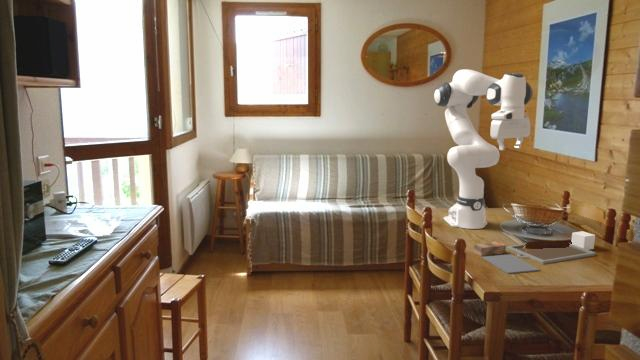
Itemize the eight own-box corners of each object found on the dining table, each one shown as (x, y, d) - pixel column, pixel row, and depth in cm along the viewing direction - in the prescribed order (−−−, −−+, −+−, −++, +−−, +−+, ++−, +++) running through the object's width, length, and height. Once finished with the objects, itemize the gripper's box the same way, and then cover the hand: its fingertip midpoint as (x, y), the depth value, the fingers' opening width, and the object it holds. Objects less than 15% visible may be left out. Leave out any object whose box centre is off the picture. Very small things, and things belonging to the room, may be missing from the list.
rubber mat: (481, 257, 188) (481, 256, 188) (511, 255, 191) (511, 254, 191) (507, 273, 172) (507, 272, 172) (539, 270, 175) (539, 269, 175)
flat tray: (596, 252, 191) (537, 262, 180) (595, 256, 191) (537, 266, 181) (556, 239, 209) (501, 247, 198) (556, 242, 209) (501, 250, 198)
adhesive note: (581, 244, 204) (582, 231, 203) (593, 249, 199) (595, 234, 198) (570, 246, 202) (572, 232, 201) (583, 250, 197) (584, 236, 196)
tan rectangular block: (481, 256, 191) (481, 247, 190) (473, 252, 195) (474, 243, 195) (505, 254, 193) (505, 245, 193) (497, 250, 198) (498, 241, 198)
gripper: (522, 113, 200) (519, 147, 202) (488, 114, 190) (486, 150, 192) (535, 114, 195) (533, 148, 197) (501, 115, 184) (499, 151, 187)
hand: (509, 149), depth 194 cm, fingers open, 8 cm apart
